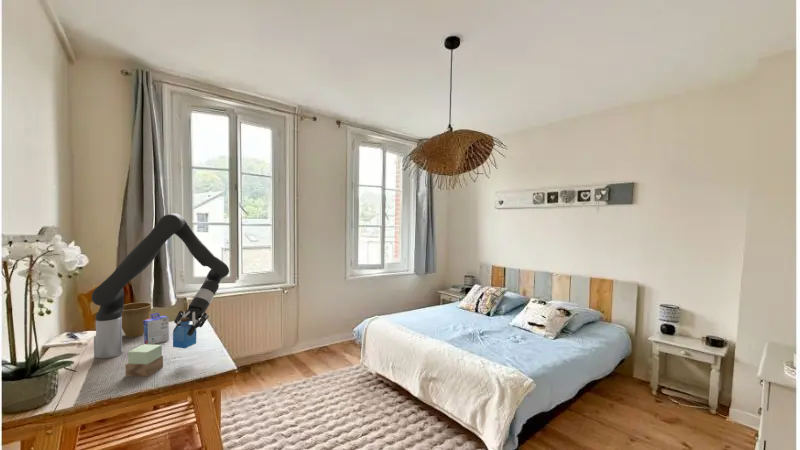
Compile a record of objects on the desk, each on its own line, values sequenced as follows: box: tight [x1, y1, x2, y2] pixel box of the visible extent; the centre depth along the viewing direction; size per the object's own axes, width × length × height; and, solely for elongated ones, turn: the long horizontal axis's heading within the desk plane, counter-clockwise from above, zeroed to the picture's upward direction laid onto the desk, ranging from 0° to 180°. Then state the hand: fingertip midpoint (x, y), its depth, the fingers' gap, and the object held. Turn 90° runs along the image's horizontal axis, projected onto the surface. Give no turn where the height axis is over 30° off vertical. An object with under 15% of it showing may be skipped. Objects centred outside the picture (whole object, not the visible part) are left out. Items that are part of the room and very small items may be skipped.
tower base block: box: [125, 355, 164, 377], centre depth 145 cm, size 9×9×5 cm
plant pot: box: [122, 302, 152, 338], centre depth 186 cm, size 15×15×16 cm
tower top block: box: [127, 343, 163, 364], centre depth 145 cm, size 8×8×5 cm
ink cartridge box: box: [143, 312, 170, 345], centre depth 177 cm, size 10×6×14 cm, turn 148°
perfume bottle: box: [172, 317, 197, 349], centre depth 153 cm, size 6×6×12 cm
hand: (181, 334), depth 151 cm, fingers closed on perfume bottle, 6 cm apart
